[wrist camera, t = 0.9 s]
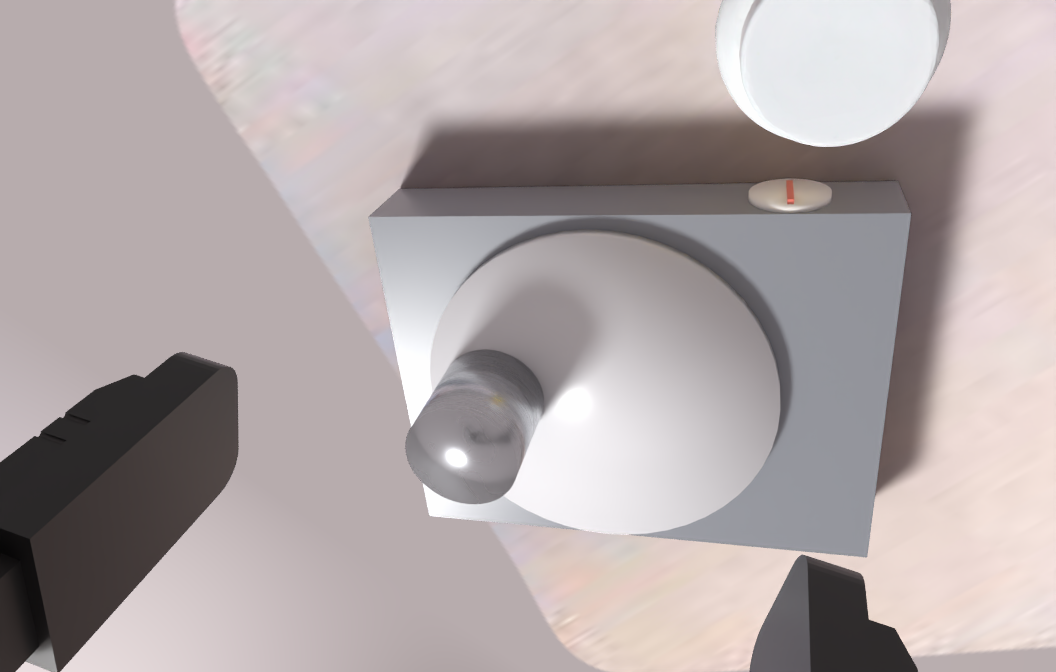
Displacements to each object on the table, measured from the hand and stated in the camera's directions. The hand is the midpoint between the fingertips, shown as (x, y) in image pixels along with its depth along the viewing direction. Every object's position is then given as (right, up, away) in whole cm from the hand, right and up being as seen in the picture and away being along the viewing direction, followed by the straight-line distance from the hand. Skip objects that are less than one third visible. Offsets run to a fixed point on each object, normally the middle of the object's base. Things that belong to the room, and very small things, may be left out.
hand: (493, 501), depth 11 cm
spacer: (-1, 0, +20) cm, 20 cm away
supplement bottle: (+9, +13, +14) cm, 21 cm away
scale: (+5, +2, +22) cm, 22 cm away
